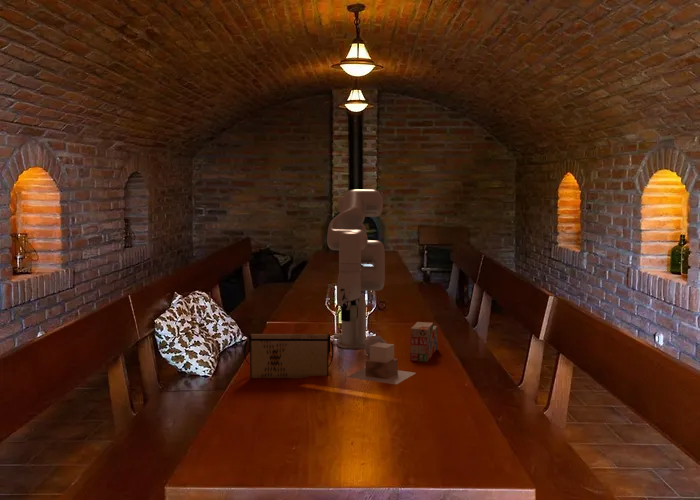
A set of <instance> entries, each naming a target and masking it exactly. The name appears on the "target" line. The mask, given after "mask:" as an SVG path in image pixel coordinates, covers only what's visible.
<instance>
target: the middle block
mask: <svg viewBox="0 0 700 500" xmlns="http://www.w3.org/2000/svg"><path fill="white" fill-rule="evenodd" d="M394 358H395V344H394V343H393V344H392V343H387V342H386V343H379V342H378V343H375V344H373V345H371V346H370V357H369V359H370V361H374V362H382V363H388V362H390V361H391V360H393V359H394Z"/></svg>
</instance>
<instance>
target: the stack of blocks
mask: <svg viewBox="0 0 700 500" xmlns="http://www.w3.org/2000/svg"><path fill="white" fill-rule="evenodd" d="M437 349H438V325H434V322H428V321H427V322H425V321H423V322H422V321H416V323H415V324H414V325H413V326H411V327H410V351H409V353H410V354H409V361H411V362H423V363H427V362H428V361H429V360H430V359H431V358H432V356H433V354H434V353H435V352H436V351H437Z"/></svg>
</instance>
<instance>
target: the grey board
mask: <svg viewBox="0 0 700 500" xmlns="http://www.w3.org/2000/svg"><path fill="white" fill-rule="evenodd" d="M365 371H366V366H365V367H363V368H360V369H358V370H357V371H355V372H353V373H351V374H350V375H347V376H346V378H350V379H351V378H352V379H357V380H363V381H364V380H365V381H370V382H375V383H376V382H377V383H382V384H389V385H398V384H401V383H402V382H403V381H405V380H407V379H409V378H410V377H412V376H414V375H415V374H417V372H413V371H405V370H399V369H398V374H396V375H394V376H393V377H391V378H389V379H382V378H375V377H369V376H365Z"/></svg>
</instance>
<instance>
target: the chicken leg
mask: <svg viewBox="0 0 700 500" xmlns="http://www.w3.org/2000/svg"><path fill="white" fill-rule="evenodd" d="M378 342H379V343H387V342H386V340H384V338H382V337H381V335H371V336H370V335H369V337H368V338H366V341H365V348H364V351H365V354H366V355H367V356H368V357H369V358H370V346H371V345H373V344H375V343H378Z"/></svg>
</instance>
